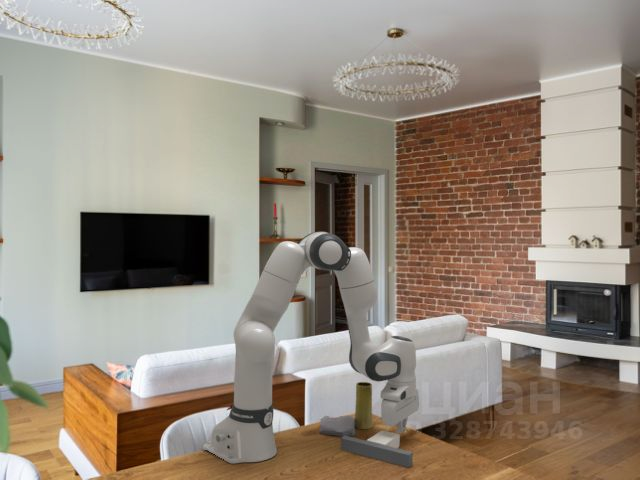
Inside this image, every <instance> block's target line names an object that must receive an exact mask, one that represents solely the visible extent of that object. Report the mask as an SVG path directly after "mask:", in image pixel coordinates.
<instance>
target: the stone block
mask: <svg viewBox="0 0 640 480" xmlns="http://www.w3.org/2000/svg"><path fill="white" fill-rule="evenodd" d="M355 421H356V420H355V416H351V415H343V416H342V415H341V416H337V417H331V416H328V415H325V416H323V417H322V418H320V423H319V433H320V434H322V435H323V434H325V435H331V436H338V437H343V436H349V437H354V436H355V435H356V427H355V424H356V422H355Z"/></svg>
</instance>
